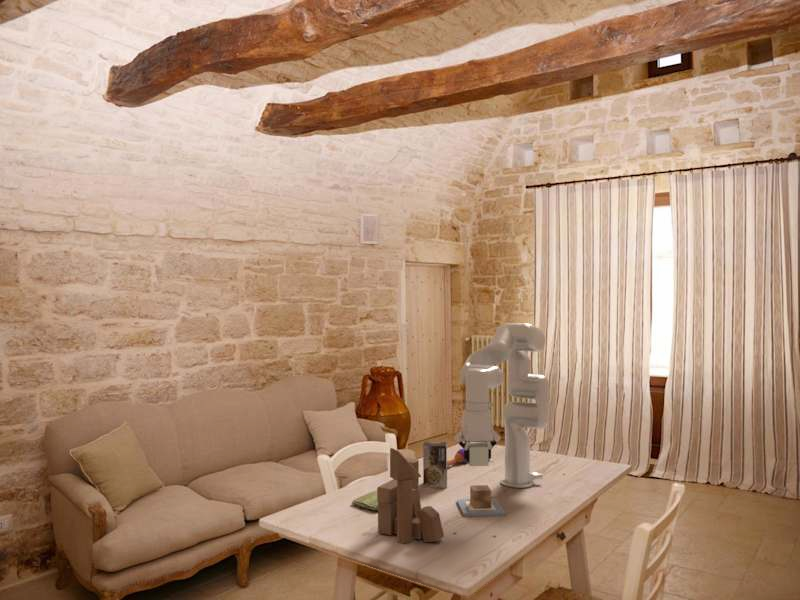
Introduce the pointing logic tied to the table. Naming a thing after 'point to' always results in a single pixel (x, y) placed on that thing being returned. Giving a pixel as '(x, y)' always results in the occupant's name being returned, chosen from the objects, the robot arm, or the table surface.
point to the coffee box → (435, 464)
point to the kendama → (457, 458)
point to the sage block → (478, 454)
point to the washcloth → (367, 501)
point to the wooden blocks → (406, 504)
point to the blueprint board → (470, 511)
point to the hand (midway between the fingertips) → (477, 460)
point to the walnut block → (480, 496)
